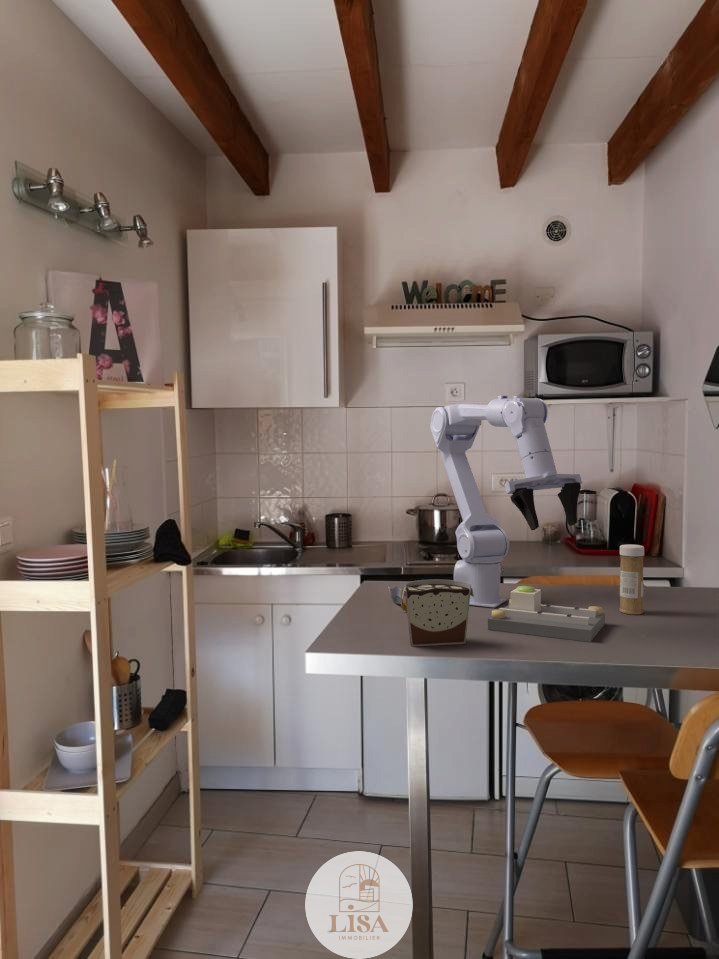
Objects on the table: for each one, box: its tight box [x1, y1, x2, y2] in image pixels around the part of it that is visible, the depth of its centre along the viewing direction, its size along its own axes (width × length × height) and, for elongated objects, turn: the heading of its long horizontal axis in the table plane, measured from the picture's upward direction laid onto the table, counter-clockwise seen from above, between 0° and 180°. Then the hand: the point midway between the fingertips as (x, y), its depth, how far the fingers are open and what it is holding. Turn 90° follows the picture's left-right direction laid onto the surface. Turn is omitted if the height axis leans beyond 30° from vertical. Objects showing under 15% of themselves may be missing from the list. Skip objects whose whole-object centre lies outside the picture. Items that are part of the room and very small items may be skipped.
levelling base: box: [487, 598, 606, 643], centre depth 131 cm, size 18×14×3 cm
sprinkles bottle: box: [619, 543, 645, 616], centre depth 142 cm, size 5×5×13 cm
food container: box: [402, 579, 474, 647], centre depth 122 cm, size 12×6×10 cm, turn 100°
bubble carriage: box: [509, 585, 542, 612], centre depth 133 cm, size 4×5×5 cm
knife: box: [387, 585, 407, 612], centre depth 146 cm, size 25×1×5 cm, turn 10°
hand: (554, 526), depth 130 cm, fingers open, 7 cm apart
